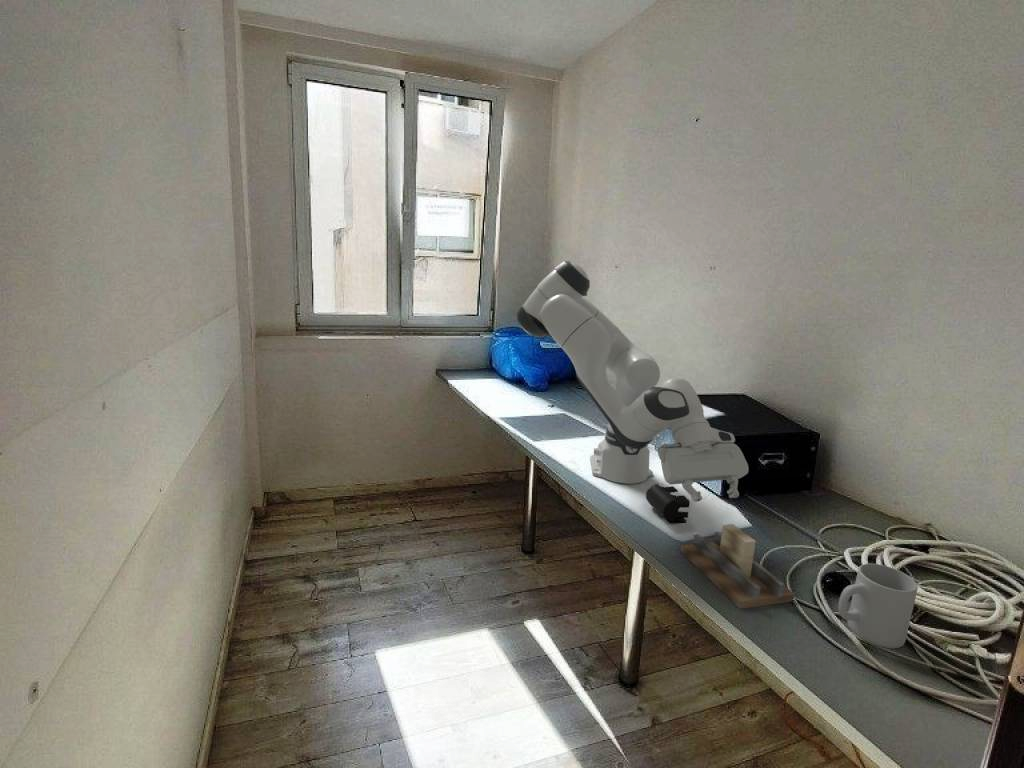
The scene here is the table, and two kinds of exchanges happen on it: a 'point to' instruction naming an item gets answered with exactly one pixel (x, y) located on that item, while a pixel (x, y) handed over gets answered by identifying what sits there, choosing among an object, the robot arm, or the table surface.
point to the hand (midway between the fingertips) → (716, 498)
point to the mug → (879, 605)
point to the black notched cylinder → (668, 503)
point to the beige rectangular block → (737, 548)
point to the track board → (736, 575)
